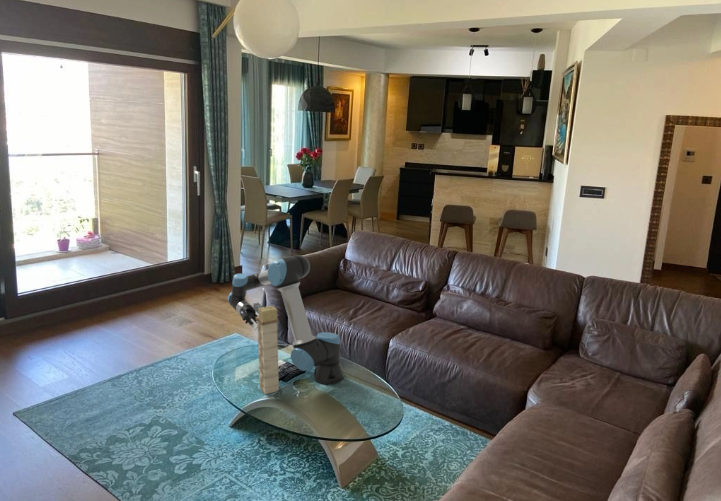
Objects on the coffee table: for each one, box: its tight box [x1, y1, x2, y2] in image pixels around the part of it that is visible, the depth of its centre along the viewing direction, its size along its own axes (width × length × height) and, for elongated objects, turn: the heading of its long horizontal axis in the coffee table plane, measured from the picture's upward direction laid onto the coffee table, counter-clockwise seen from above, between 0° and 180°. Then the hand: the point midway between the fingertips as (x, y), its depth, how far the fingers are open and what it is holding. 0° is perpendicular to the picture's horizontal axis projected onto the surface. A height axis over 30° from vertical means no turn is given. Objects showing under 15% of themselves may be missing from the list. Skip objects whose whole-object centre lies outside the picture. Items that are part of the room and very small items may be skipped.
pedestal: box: [256, 316, 280, 395], centre depth 258 cm, size 8×8×36 cm
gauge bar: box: [252, 302, 278, 322], centre depth 257 cm, size 18×7×5 cm, turn 32°
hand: (266, 331), depth 272 cm, fingers open, 13 cm apart
